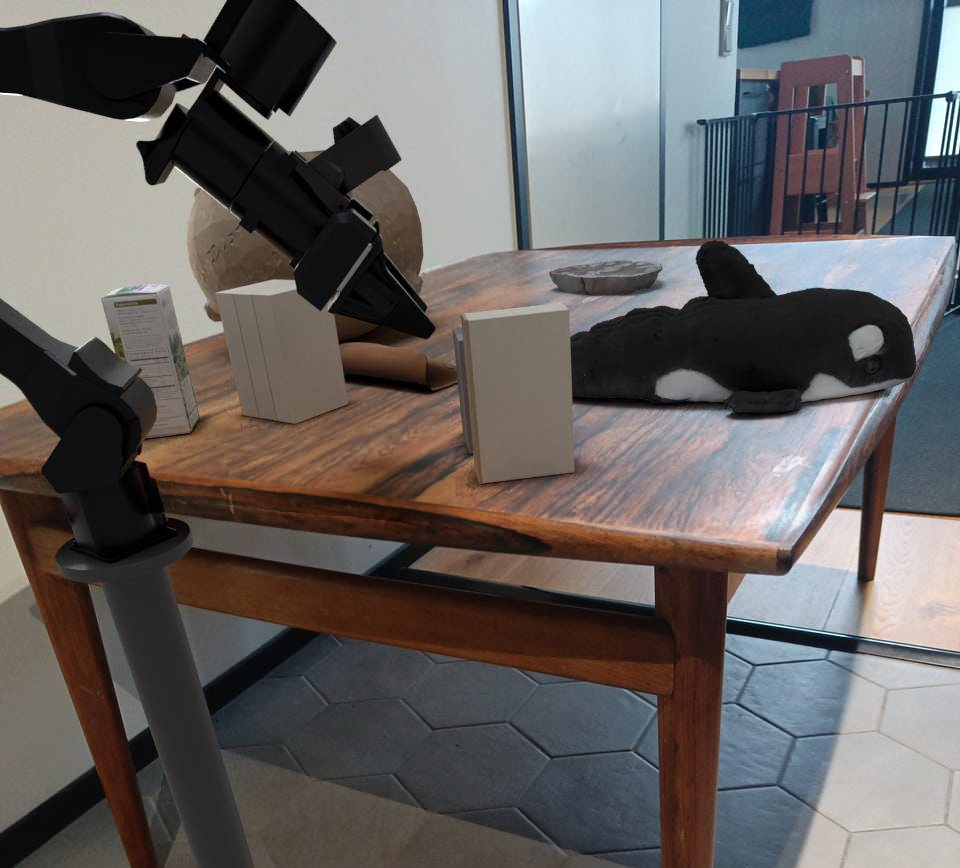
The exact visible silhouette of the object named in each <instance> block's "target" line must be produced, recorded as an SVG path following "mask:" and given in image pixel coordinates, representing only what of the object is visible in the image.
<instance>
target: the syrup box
mask: <svg viewBox="0 0 960 868" xmlns="http://www.w3.org/2000/svg"><path fill="white" fill-rule="evenodd" d="M170 287H171V286H170V285H168V284H160V283H159V284H156V283H149V284H148V283H147V284H134V285H128V286H124V287H119V288H116V289H113V290H112V291H110V292H109V293H107V294H105V295H104V296H102V297H101V298H100V299H101V300H100V301H101V304H102V309H103V313H104V316H105V320H106V323H107V328H108V331H109V335H110V339H111V342H112V346H113V349H114V350H113V351H114V353H115V354H116V355H117V356H118V357H119V358H121V359H122V360H124V361H125V362H127V363H129V364H130V365H133V366H137V367H140V368H141V369H142V372H141V373H140V374H139V375H138V377H140V378H141V379H143V380H144V381H145V382H146V383H147V384H148V386H149V387H150V388H151V390H152V391H153V393H154V397H155V401H156V406H157V417H156V421H155V423H154V425H153V427H152V429H151V431H150V432H149V433H148V435H147V436H146V437H145V439H152V438H160V437H161V438H162V437H168V436H176V435H182V434H183V435H184V434H191V432H193V430H194V428H195V427H196V425H197V424H198V421H199V420H200V418H201V417H200V412H199V408H198V404H197V399H196V396H195V395H196V394H195V391H194V387H193V386H194V385H193V382H192V378H191V374H190V369H189V364H188V360H187V357H186V356H187V355H186V352H185V348H184V344H183V339H182V335H181V331H180V326H179V322H178V318H177V313H176V310H175V305H174V300H173V296H172V292H171V288H170Z"/></svg>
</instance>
